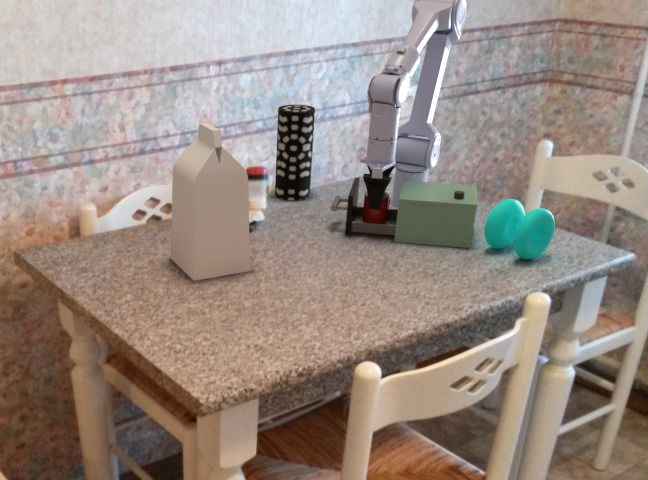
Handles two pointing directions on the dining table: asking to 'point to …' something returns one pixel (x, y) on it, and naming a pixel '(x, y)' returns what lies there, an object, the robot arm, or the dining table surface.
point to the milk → (210, 209)
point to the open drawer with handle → (356, 215)
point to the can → (375, 211)
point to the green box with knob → (436, 214)
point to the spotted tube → (294, 151)
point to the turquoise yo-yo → (519, 228)
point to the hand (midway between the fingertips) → (375, 203)
